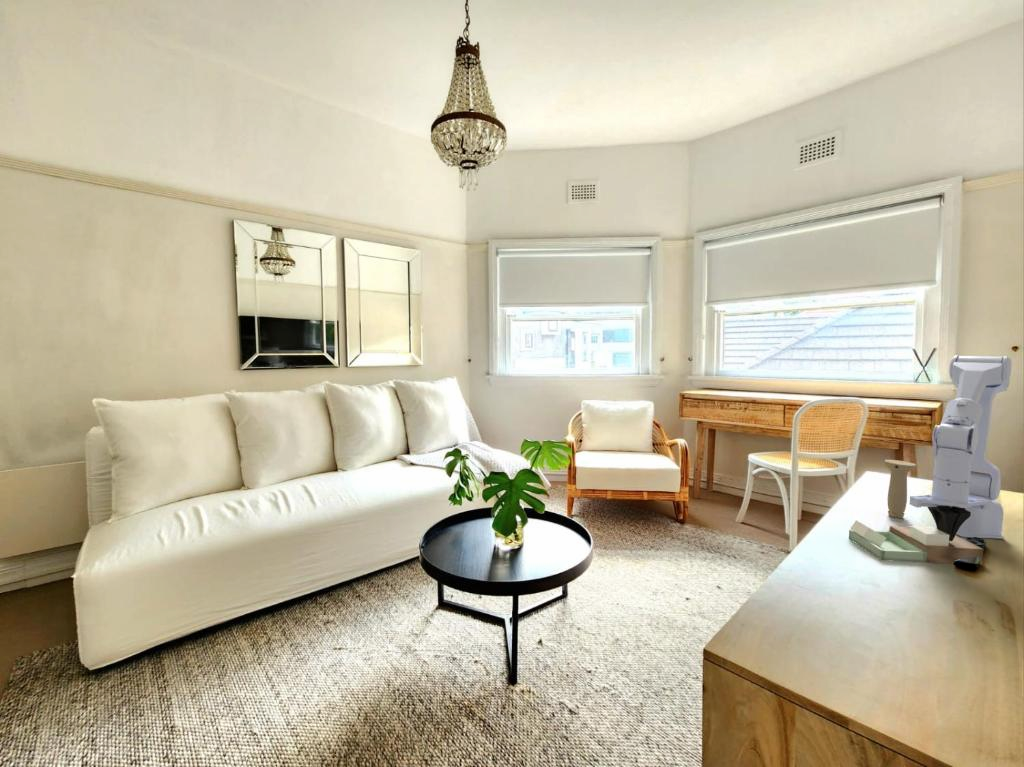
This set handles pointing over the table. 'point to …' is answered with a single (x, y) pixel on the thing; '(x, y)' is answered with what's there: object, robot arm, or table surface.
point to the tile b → (929, 535)
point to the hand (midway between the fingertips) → (945, 539)
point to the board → (942, 547)
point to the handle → (898, 486)
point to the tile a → (868, 533)
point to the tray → (890, 547)
